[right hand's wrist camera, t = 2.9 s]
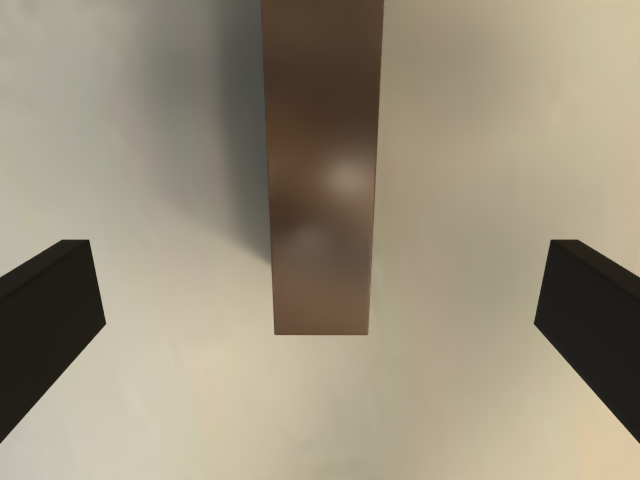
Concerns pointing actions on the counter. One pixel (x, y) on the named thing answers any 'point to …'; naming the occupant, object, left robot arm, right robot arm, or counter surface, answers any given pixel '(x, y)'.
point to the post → (321, 159)
